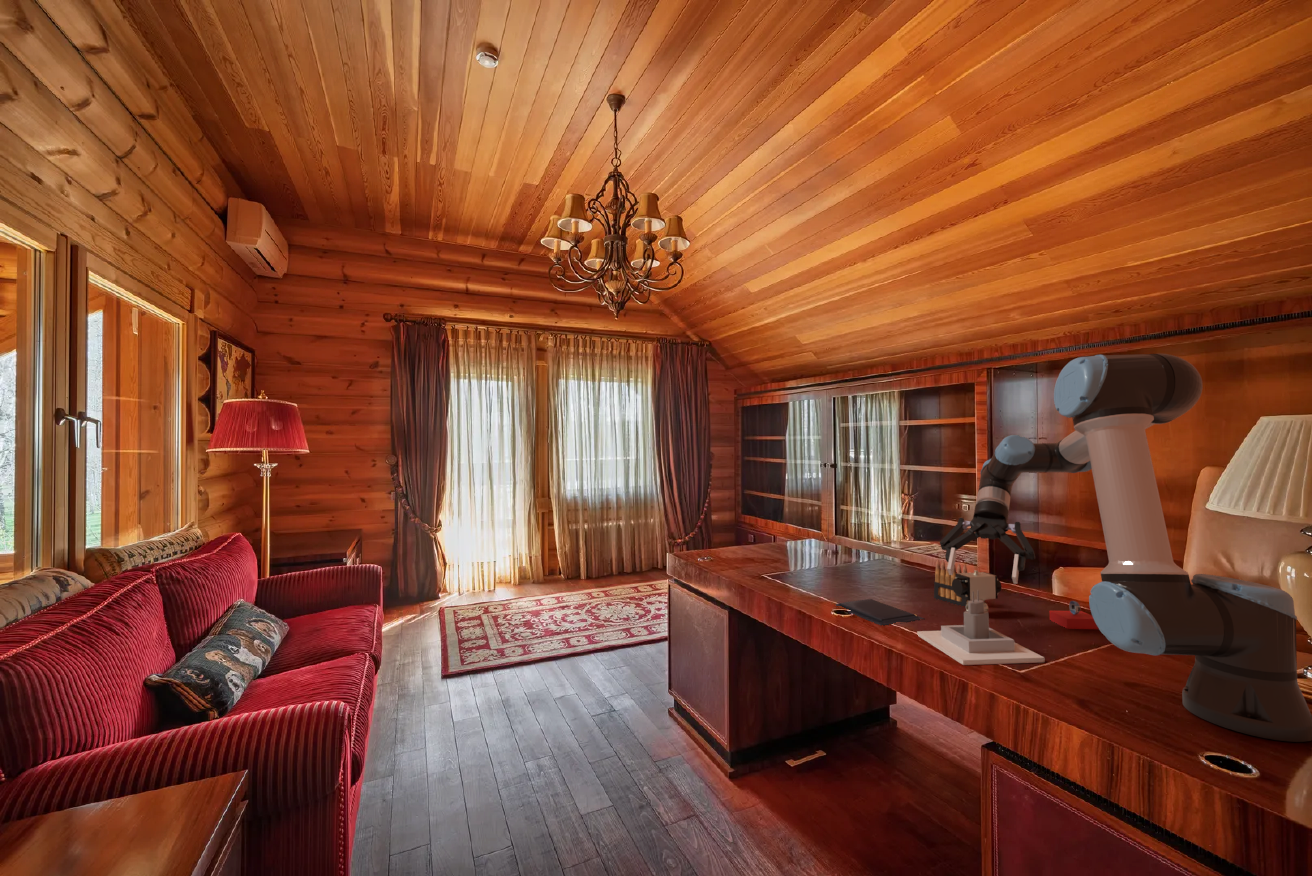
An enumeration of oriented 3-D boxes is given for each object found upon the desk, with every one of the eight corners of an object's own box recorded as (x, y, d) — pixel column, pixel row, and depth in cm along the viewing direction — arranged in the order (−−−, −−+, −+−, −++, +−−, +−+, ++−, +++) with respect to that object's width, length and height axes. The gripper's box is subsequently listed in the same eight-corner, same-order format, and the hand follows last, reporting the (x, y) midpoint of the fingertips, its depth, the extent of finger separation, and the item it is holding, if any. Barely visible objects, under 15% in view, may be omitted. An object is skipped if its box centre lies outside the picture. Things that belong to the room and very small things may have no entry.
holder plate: (1044, 662, 114) (1044, 645, 114) (963, 665, 113) (962, 648, 113) (988, 633, 132) (987, 619, 132) (917, 635, 131) (917, 621, 131)
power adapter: (990, 643, 123) (989, 591, 123) (976, 647, 120) (975, 594, 121) (977, 639, 126) (976, 588, 126) (962, 643, 123) (961, 591, 123)
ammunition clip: (933, 598, 163) (932, 558, 163) (938, 597, 164) (937, 558, 164) (966, 607, 153) (965, 565, 154) (971, 606, 154) (970, 565, 154)
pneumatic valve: (1002, 615, 146) (1001, 571, 146) (963, 618, 144) (962, 573, 144) (987, 609, 151) (986, 567, 151) (949, 612, 150) (948, 568, 150)
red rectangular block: (1081, 621, 141) (1081, 597, 141) (1100, 630, 134) (1100, 605, 134) (1049, 621, 142) (1049, 597, 142) (1067, 629, 135) (1066, 604, 135)
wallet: (831, 601, 157) (873, 595, 162) (831, 607, 157) (873, 602, 162) (880, 621, 138) (926, 615, 143) (880, 629, 138) (926, 622, 143)
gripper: (1051, 521, 135) (1046, 593, 123) (942, 514, 151) (928, 577, 140) (1048, 501, 131) (1042, 574, 119) (936, 496, 147) (922, 560, 136)
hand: (981, 576), depth 129 cm, fingers open, 13 cm apart
